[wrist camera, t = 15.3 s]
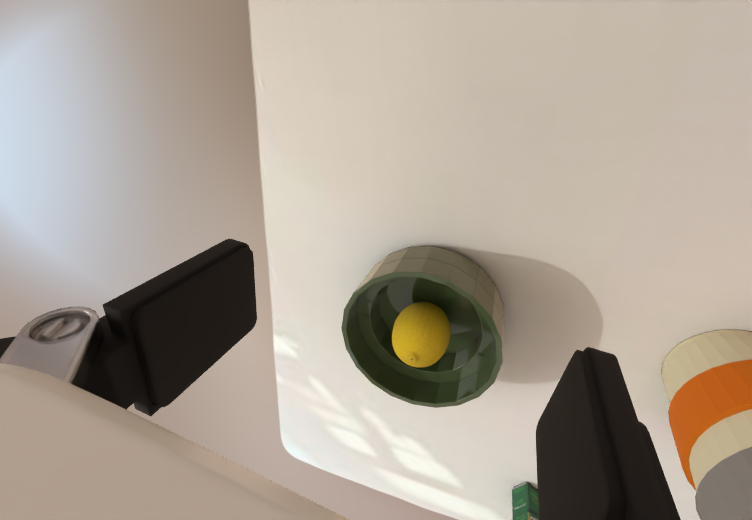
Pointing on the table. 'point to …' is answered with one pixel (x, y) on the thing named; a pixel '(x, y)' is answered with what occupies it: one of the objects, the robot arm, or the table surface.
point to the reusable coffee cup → (714, 419)
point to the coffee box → (525, 502)
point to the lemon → (421, 334)
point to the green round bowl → (463, 309)
